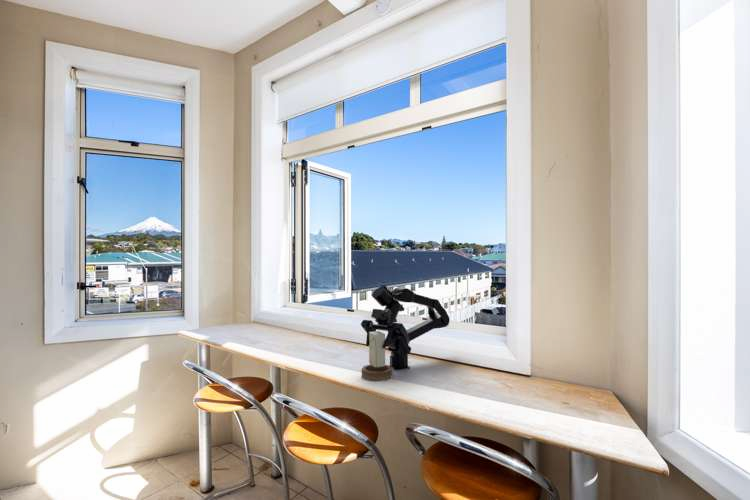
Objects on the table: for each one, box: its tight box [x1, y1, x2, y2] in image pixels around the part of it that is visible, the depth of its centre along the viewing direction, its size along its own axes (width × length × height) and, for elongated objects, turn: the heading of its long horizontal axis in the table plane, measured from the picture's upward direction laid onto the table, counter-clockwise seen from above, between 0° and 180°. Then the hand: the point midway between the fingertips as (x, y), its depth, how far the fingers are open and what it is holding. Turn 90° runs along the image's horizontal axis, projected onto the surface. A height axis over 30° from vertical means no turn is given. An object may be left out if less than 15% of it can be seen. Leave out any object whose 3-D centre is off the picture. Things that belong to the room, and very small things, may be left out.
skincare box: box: [368, 330, 386, 367], centre depth 140 cm, size 6×4×12 cm
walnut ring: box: [361, 364, 393, 382], centre depth 139 cm, size 11×11×3 cm
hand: (374, 346), depth 138 cm, fingers closed on skincare box, 7 cm apart
